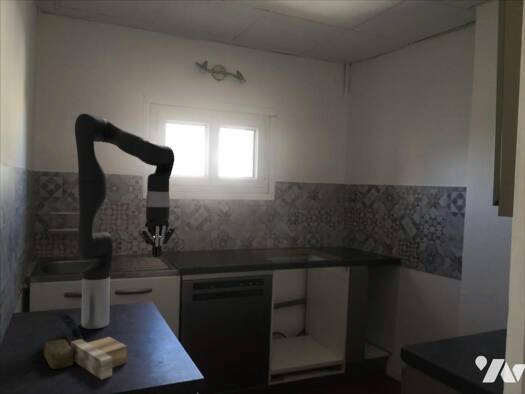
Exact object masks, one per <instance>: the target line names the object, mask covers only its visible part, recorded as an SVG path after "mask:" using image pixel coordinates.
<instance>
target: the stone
mask: <svg viewBox="0 0 525 394" xmlns="http://www.w3.org/2000/svg"><path fill="white" fill-rule="evenodd" d="M54 317H55V319H56V321H57V322H58V324H59V325H60V327H61V329H62V331H63V332H64V334H65V336H66V340H67V342H68V344H69V345H71V342H72V341H76V340H80V339H82V340H84V341H85V339H84V337H83V335H81V330H80V327H79V326H78V324H77V323H76V320H75V319H74V318H73V317H72V316H70V315H69V314H67V313H65V312H64V310H62V309H59V310H57V311H56V312H54Z"/></svg>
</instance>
